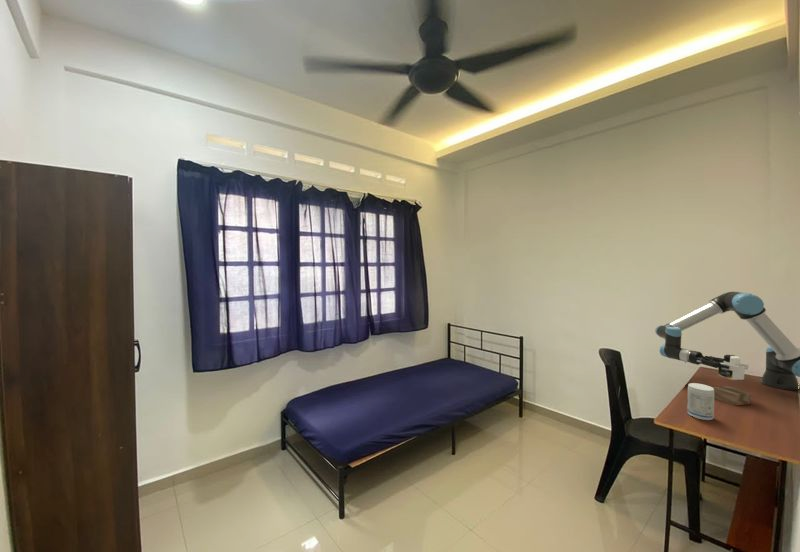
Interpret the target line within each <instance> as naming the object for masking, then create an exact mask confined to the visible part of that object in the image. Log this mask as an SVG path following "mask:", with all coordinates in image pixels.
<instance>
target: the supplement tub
mask: <svg viewBox="0 0 800 552" xmlns="http://www.w3.org/2000/svg"><path fill="white" fill-rule="evenodd" d="M687 385H688V386H687V407H686V409H687V414H688V415H689V416H691V417H692V416H693V417H692V418H695V419H699V420H703V421H711V420H713V419H714V416H715V398H714V388H713V387H712V386H709V385H707V384H704V383H703V384H702V383H696V382H691V383H690V382H689V383H688V384H687Z"/></svg>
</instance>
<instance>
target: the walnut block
mask: <svg viewBox="0 0 800 552" xmlns="http://www.w3.org/2000/svg"><path fill="white" fill-rule="evenodd" d="M712 388H714V400H719V401H721V402H724V403H727V404H730V405H732V406H741V405H744V406H745V405H750V404H751V392H748V391H744V390H742V389H740V388H739V389H738V388H735V387H732V386H729V385H725V386H713V387H712Z"/></svg>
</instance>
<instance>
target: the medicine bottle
mask: <svg viewBox="0 0 800 552" xmlns="http://www.w3.org/2000/svg"><path fill="white" fill-rule="evenodd" d="M723 359H724V362H725V363H724V364H729V365H733V366H738V367H739V372H735V371H731V370H727V369H723V368H721V369H718V376H719V377H721V378H725V379H728V380H731V381H739V380H740V381H741V380H745V371H746V369H745V367H744V366H741V365H739V364H740V363H741V361H740V360H741V358H740V357H739V356H737V355H734V354H724V356H723ZM721 364H722V363H721Z"/></svg>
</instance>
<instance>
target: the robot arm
mask: <svg viewBox="0 0 800 552" xmlns="http://www.w3.org/2000/svg"><path fill="white" fill-rule="evenodd" d="M764 305H765V303H764V301H763V299H762V298H761V297H760V296H758V295H755V294H753V293H749V292H739V291H729V292H724V293H722V294H720V295H717V296H716V297H714V298H712V299H710V300H708V303H706V304H705V305H704V304H703V305H702V306H700V307H698V308H696V309H694V310H692V311H690V312H688V313H686V314H684V315H682V316H680V317H679V318H676V319H673V321H671V322H668V323H665V325H657V326H656V327H655V329H654V330H655V334H656V336H658V337H659V338H661V339H664V340H665V341H664V344H662V345H660V346H659V347H660V349H659V353H660V355H661V357H664V358H667V359H672V360H677V361H679V362H680V361H681V362H684V363H685V364H686V363H690V364H693V365H700V364H701V365H704V366H708V367H711V368H714V369H718V370H719V369H721V368H723V369H727V370H731V371H735V372H739V367H738V366H733V365H729V364H724V363H725V362H724V357H722V358H721V357H715V356H712V355H709V356H708V355H703V353H702V352H701V351H696V350H692V349H687V348H682V334H683V333H682V332H683V331H685V330H687V329H689V328H691V327H693V326H695V325H697V324H699V323H702V322H704V321H706V320H708V319H710V318H711V317H714V316H716V315H718V314H724V313H727V312H734V313H735V314H736V315H737V316H738V317H739V318H740V319H741V320H745V321H746V322H748V324H749V325H750V326H751V327H752V328H753V329H754V331H756V333H757V334H759V336H760V337H761V338H762V339H763V340H764V342H765V343H766V344H767V345H768V347H767V348H766V351H765V371H764V373H763V374H762V377H761V379H760V383H761V384H763V385H765V386H768V387H771V388H776V389H780V390H787V391H799V390H798V386H799V385H800V384H799V382H798V378H800V347H796V346H795V345H794V343H793V342H792V341H791V340H790V339H789V338H788V337H787V336H786V334H784V332H783V331H782V330H781V329H780V328H779V327H778V326H777V324H775V322H774V321H773V320H772V319H771V318H770V317H769V316H768V315H767V314H766V311H767V308H765V306H764ZM721 363H722V364H721ZM739 365H741V366H744V367H745V371H746V370H749V364H747V363H742V362H740V364H739ZM797 377H798V378H797ZM798 384H799V385H798Z"/></svg>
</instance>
